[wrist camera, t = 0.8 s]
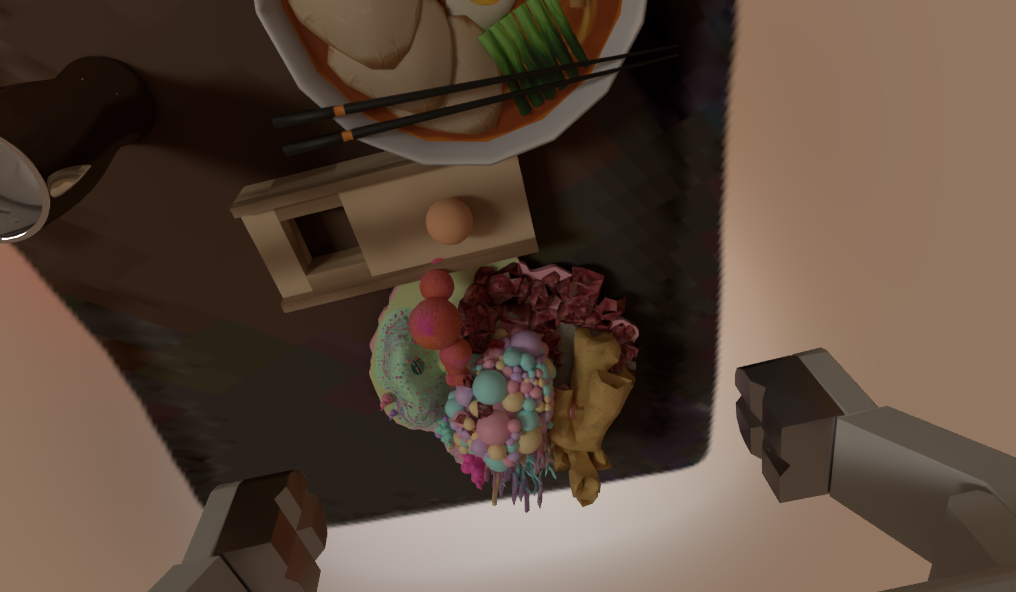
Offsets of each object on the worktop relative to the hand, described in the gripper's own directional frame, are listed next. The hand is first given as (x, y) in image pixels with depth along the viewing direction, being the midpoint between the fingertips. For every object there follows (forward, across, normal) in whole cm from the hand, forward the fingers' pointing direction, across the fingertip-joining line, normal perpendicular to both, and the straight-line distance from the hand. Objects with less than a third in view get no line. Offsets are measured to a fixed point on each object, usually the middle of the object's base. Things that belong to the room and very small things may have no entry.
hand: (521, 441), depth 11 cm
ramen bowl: (+38, -1, -6) cm, 38 cm away
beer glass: (+38, +25, -3) cm, 46 cm away
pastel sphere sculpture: (+37, +3, +28) cm, 46 cm away
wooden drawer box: (+38, +8, +10) cm, 41 cm away
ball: (+34, +4, +10) cm, 35 cm away
